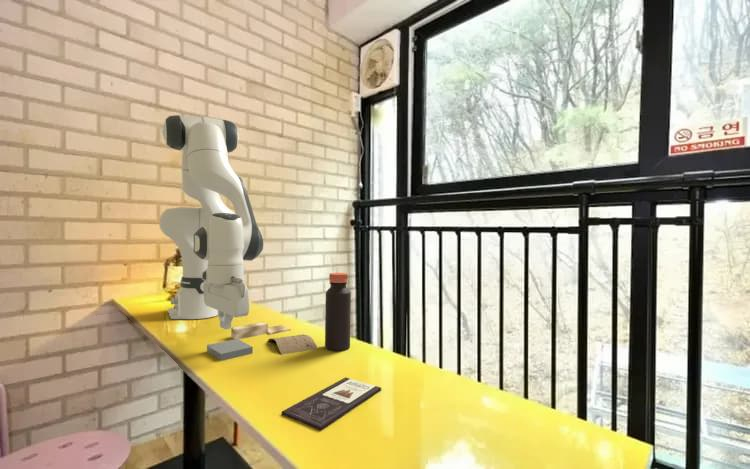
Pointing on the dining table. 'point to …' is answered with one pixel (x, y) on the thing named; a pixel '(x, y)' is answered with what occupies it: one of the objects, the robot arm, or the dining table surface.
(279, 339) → the curved brown bark piece
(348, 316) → the bottle
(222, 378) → the dining table surface
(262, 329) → the stepped wooden block
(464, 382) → the dining table surface
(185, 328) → the dining table surface
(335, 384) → the chocolate bar
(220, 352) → the grey framed square panel
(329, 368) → the dining table surface
